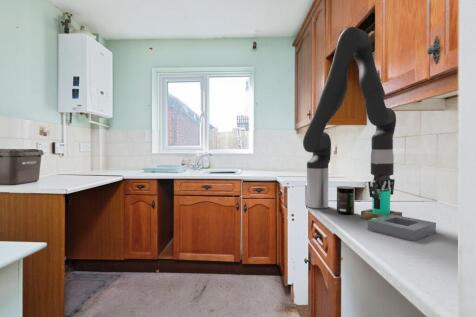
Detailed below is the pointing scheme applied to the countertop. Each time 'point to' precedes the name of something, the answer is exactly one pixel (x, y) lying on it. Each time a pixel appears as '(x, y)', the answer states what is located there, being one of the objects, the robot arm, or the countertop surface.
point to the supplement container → (345, 200)
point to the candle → (383, 204)
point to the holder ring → (369, 215)
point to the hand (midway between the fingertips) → (381, 207)
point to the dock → (402, 227)
